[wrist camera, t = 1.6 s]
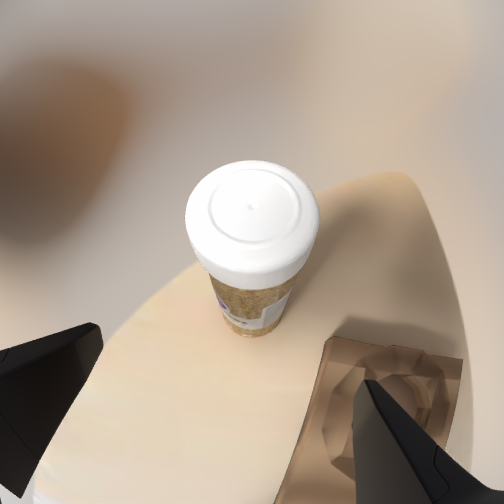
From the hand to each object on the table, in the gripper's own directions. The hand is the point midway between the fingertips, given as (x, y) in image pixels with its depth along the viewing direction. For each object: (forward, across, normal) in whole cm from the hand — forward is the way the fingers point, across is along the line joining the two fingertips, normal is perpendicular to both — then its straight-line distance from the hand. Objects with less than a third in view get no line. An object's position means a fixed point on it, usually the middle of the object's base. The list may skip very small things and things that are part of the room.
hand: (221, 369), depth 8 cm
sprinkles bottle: (+12, 0, +5) cm, 13 cm away
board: (+5, -11, +12) cm, 17 cm away
